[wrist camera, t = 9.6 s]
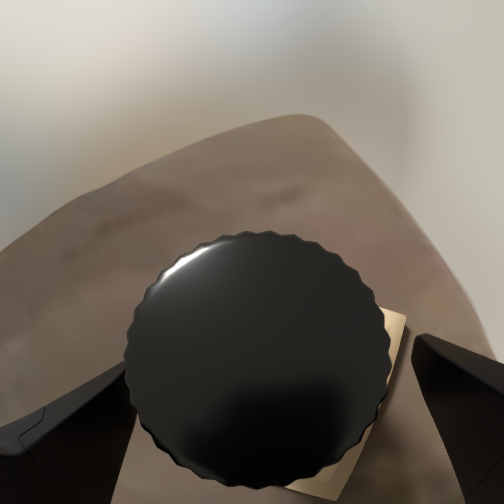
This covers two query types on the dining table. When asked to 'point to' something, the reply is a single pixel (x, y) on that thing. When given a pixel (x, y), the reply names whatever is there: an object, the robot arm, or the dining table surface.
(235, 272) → the supplement bottle
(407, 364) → the dining table surface
